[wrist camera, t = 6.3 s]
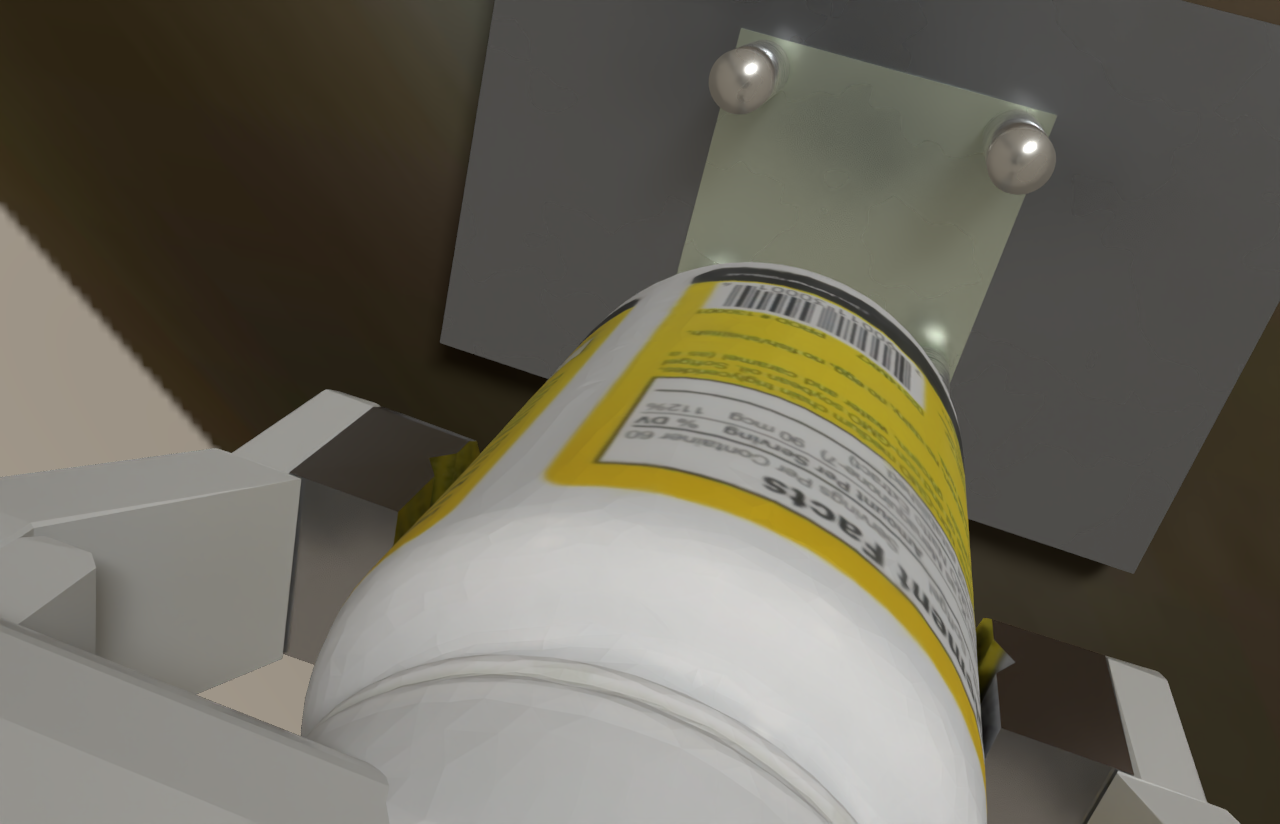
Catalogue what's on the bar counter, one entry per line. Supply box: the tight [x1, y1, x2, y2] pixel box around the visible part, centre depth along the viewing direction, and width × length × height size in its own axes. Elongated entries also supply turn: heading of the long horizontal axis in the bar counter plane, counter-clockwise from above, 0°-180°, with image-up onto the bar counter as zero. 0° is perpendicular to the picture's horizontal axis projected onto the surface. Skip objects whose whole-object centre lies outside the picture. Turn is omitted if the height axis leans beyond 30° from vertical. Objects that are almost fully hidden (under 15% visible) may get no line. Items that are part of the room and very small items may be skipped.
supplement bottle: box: [301, 262, 987, 824], centre depth 9 cm, size 5×5×8 cm
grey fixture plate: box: [440, 0, 1280, 574], centre depth 23 cm, size 18×12×4 cm, turn 76°
